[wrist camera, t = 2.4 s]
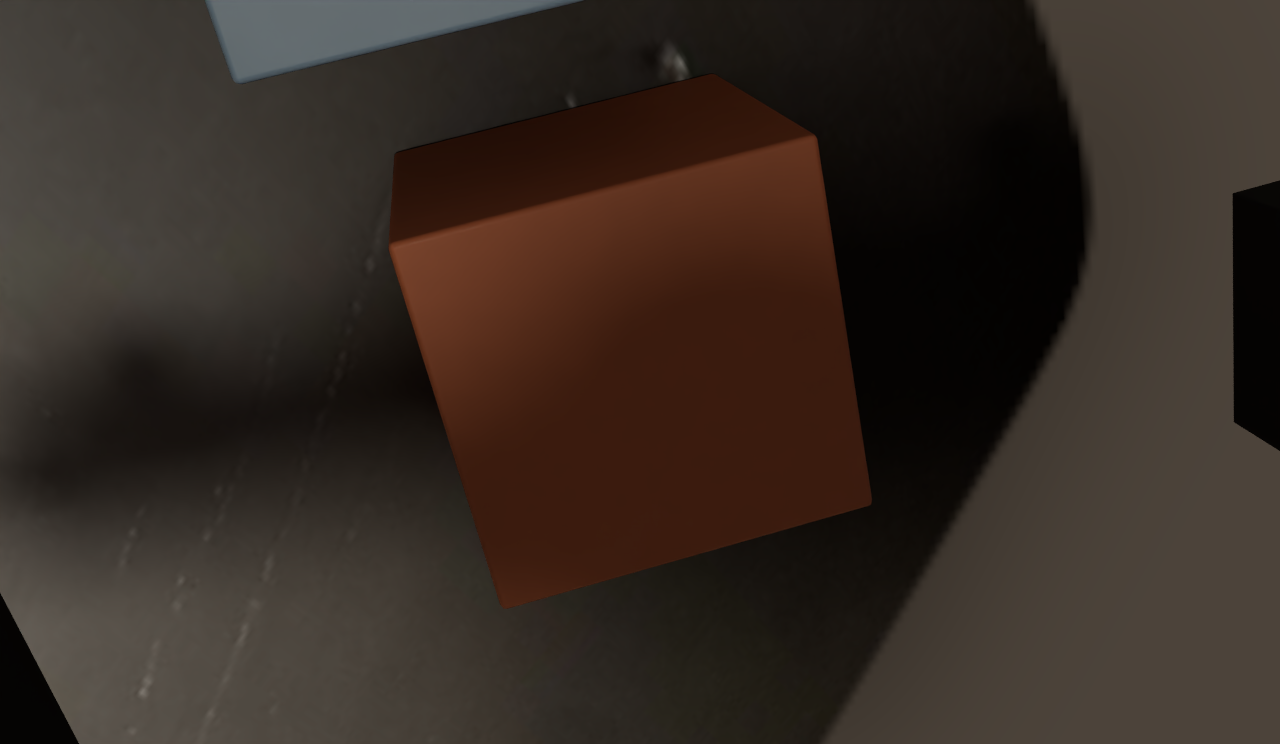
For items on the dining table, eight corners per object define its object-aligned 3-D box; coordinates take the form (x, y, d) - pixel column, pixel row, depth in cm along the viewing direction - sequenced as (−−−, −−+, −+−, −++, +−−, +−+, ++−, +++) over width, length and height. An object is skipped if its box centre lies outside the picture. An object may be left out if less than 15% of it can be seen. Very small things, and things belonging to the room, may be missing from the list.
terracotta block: (715, 71, 18) (818, 133, 13) (769, 366, 20) (873, 506, 15) (392, 152, 18) (386, 245, 13) (480, 444, 20) (502, 612, 15)
